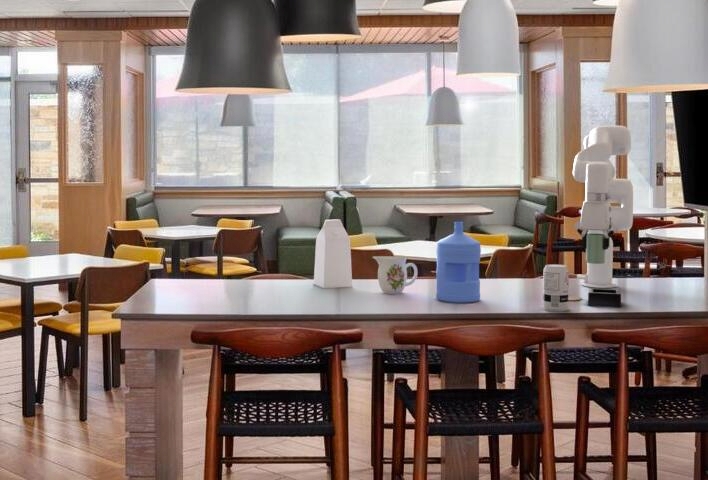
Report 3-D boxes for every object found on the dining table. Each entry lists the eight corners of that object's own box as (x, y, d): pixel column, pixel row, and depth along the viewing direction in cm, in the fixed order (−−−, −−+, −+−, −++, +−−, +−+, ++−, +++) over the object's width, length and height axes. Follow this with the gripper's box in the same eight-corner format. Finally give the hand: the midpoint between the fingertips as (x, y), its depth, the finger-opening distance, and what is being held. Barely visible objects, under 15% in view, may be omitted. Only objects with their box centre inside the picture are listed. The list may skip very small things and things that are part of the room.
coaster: (548, 299, 350) (548, 298, 350) (557, 295, 359) (557, 294, 359) (575, 301, 345) (575, 300, 345) (584, 298, 353) (584, 297, 353)
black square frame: (587, 305, 336) (588, 292, 336) (588, 301, 347) (588, 288, 346) (620, 307, 333) (621, 294, 333) (620, 302, 343) (620, 289, 343)
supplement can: (539, 307, 332) (540, 264, 331) (563, 307, 333) (563, 263, 332) (547, 311, 324) (548, 267, 323) (571, 311, 325) (572, 267, 324)
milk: (341, 282, 391) (341, 218, 390) (352, 286, 380) (352, 220, 379) (313, 284, 388) (313, 219, 386) (323, 288, 377) (323, 221, 375)
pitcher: (422, 293, 363) (422, 257, 362) (376, 295, 358) (376, 258, 358) (412, 289, 373) (412, 254, 372) (367, 291, 369) (367, 255, 368)
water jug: (427, 298, 353) (428, 221, 351) (464, 295, 359) (465, 219, 357) (451, 304, 339) (451, 224, 337) (488, 301, 345) (489, 223, 343)
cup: (583, 262, 341) (583, 234, 341) (589, 260, 347) (589, 233, 346) (601, 264, 338) (602, 235, 337) (607, 262, 343) (607, 234, 342)
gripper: (624, 198, 339) (623, 249, 340) (575, 196, 349) (574, 246, 350) (618, 199, 333) (617, 251, 334) (568, 197, 342) (567, 248, 344)
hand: (595, 248), depth 342 cm, fingers closed on cup, 6 cm apart
